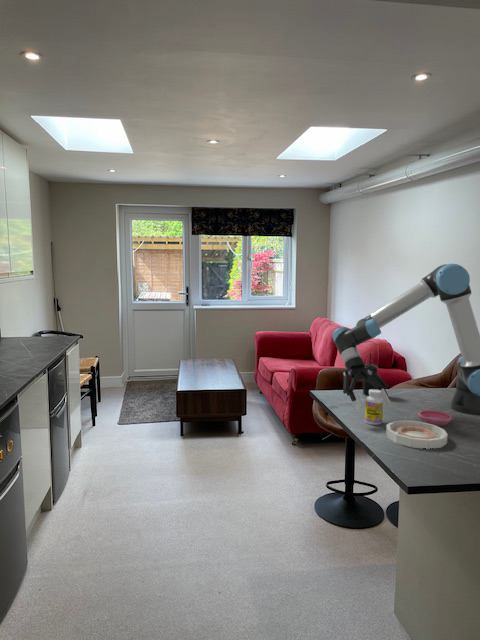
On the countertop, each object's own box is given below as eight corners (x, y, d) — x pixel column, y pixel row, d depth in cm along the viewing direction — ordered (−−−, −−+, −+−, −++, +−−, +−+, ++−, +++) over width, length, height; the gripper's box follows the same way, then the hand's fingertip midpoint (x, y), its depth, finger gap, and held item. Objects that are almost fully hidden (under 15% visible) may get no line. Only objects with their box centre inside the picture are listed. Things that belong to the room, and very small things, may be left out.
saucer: (418, 424, 181) (418, 417, 180) (417, 415, 192) (418, 408, 192) (453, 429, 176) (453, 421, 176) (450, 419, 188) (450, 411, 188)
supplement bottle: (363, 423, 180) (364, 391, 179) (365, 418, 186) (367, 387, 185) (381, 426, 178) (383, 393, 176) (382, 421, 184) (384, 389, 182)
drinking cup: (375, 392, 226) (377, 352, 224) (378, 396, 218) (380, 355, 216) (359, 391, 227) (361, 351, 224) (361, 396, 219) (363, 354, 217)
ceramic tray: (439, 430, 174) (440, 423, 173) (451, 451, 154) (452, 442, 154) (384, 425, 178) (384, 418, 178) (388, 445, 159) (389, 436, 158)
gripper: (373, 364, 200) (394, 407, 188) (323, 367, 191) (342, 414, 179) (381, 354, 194) (404, 398, 182) (331, 357, 185) (351, 404, 173)
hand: (374, 406), depth 180 cm, fingers open, 13 cm apart
